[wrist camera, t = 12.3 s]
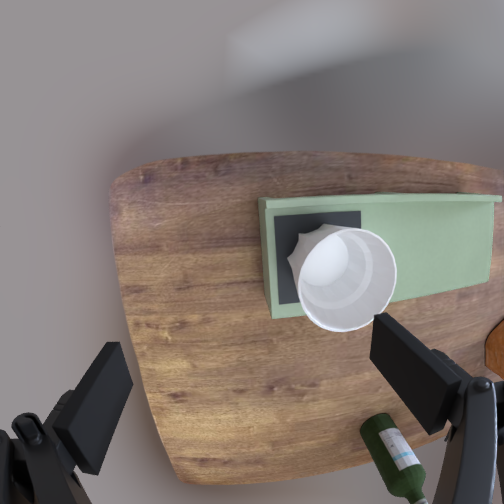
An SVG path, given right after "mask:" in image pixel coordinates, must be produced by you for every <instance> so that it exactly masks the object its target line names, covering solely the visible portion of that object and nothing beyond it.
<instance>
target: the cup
mask: <svg viewBox="0 0 504 504" xmlns="http://www.w3.org/2000/svg"><path fill="white" fill-rule="evenodd" d="M287 259H288V261H289V263H290V265H291V267H292V271H293V277H294V281H295V285H296V289H297V292H298V296H299V299H300V302H301V305H302V308H303V310H304V312H305V313H306V314H307V316H308V317H309V319H310V320H311V321H313V322H314V323H315V324H317V325H318V326H319V327H321V328H324V329H327V330H330V331H335V332H347V331H352V330H356V329H359V328H361V327H363V326H365V325H367V324H369V323H370V322H371V321H373V320H374V315H376V314H381V312H382V311H383V310H384V309H385V308H386V306H387V305H388V303H389V301H390V299H391V297H392V295H393V292H394V289H395V285H396V278H397V267H396V263H395V258H394V255H393V253H392V251H391V249H390V247H389V246H388V245H387V243H386V242H385V241H384V240H383V239H382V238H381V237H380V236H378V235H376V234H374V233H372V232H371V231H368V230H363V229H358V228H351V227H342V226H335V225H329V224H323V225H322V226H321V227H320V228H319V229H317V230H314V231H312V232H309V233H306V234H303V233H299V241H298V243H297V245H296V247H295V249H294V251H293V253H292V254H291V255H290V256H289V257H288V258H287Z"/></svg>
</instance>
